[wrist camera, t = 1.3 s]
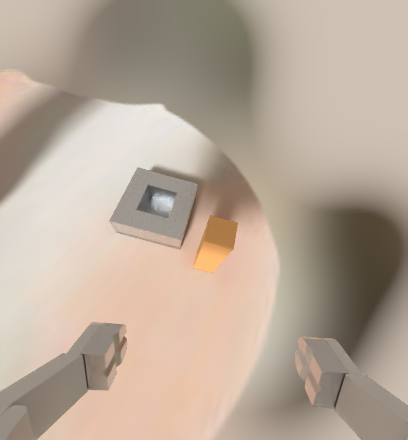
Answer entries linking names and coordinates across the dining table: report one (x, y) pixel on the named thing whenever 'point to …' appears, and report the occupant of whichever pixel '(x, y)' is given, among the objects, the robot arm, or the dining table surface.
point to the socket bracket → (155, 208)
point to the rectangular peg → (215, 243)
